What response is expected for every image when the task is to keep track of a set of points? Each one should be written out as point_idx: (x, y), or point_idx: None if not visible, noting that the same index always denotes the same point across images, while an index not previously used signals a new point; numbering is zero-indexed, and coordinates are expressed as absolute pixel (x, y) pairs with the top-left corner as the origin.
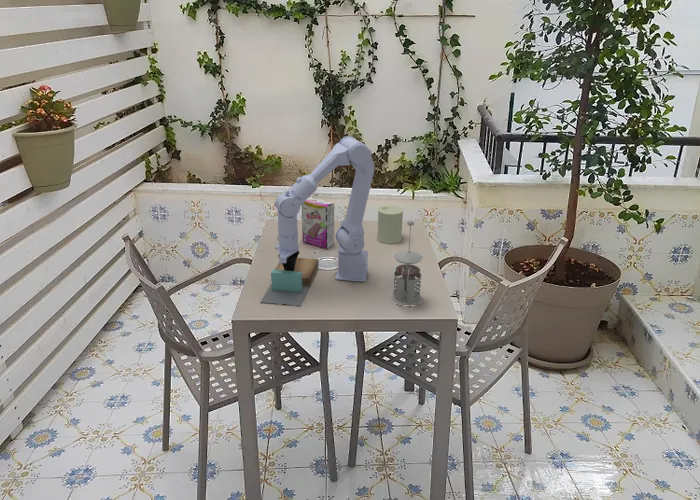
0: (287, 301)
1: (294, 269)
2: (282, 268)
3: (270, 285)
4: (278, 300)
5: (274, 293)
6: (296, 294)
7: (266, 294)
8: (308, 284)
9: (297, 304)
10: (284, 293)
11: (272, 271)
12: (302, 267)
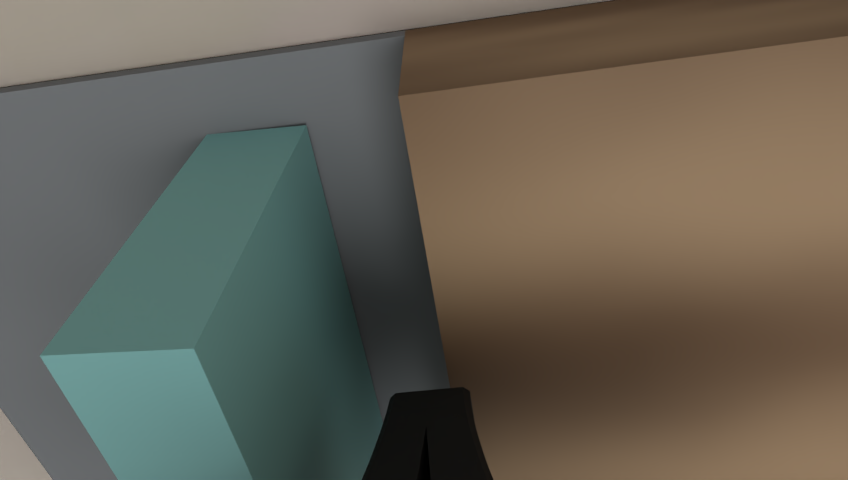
0: (51, 392)
1: (734, 360)
2: (761, 181)
3: (320, 51)
4: (3, 309)
5: (127, 204)
6: None
7: (32, 113)
8: None
9: (65, 475)
10: None
11: (112, 366)
12: (813, 429)
